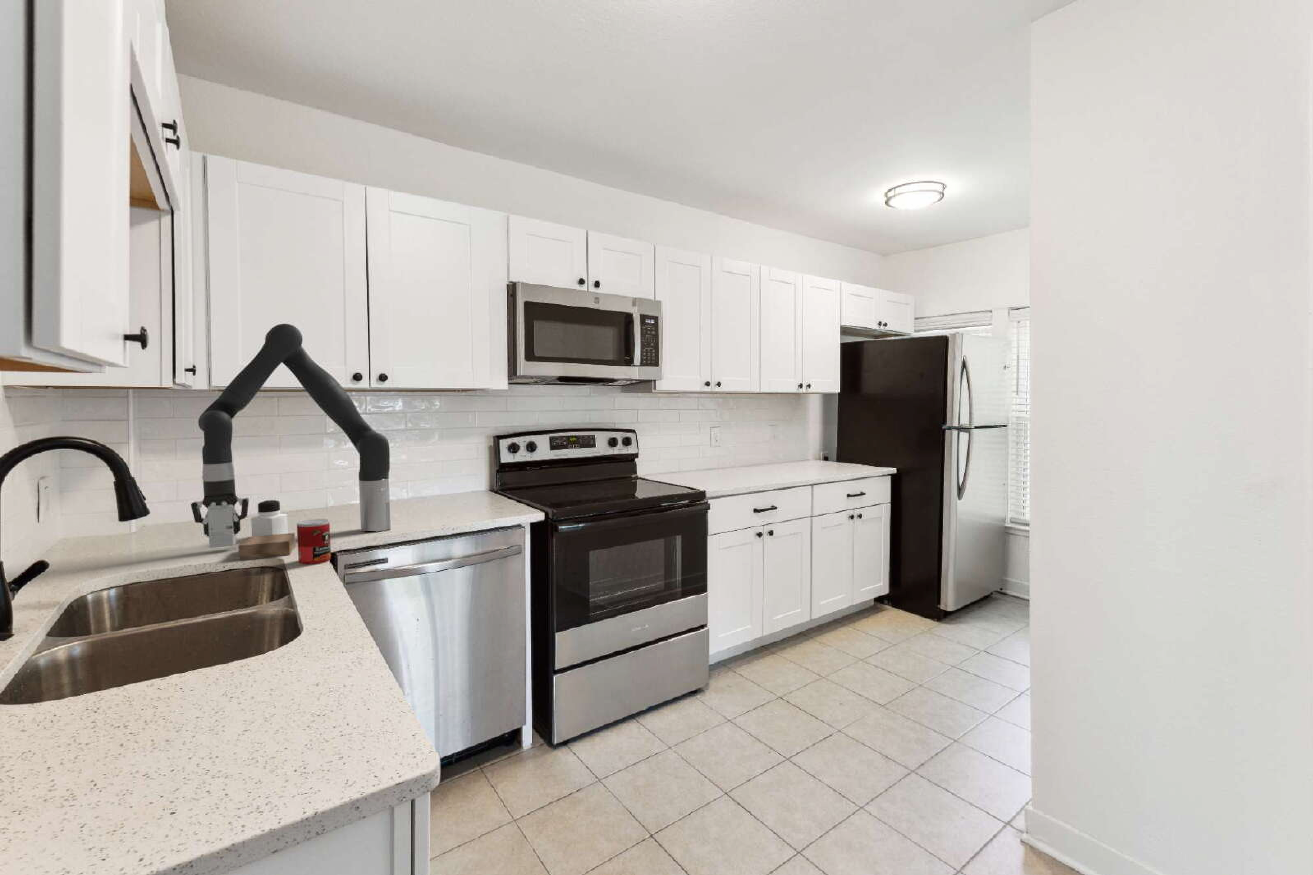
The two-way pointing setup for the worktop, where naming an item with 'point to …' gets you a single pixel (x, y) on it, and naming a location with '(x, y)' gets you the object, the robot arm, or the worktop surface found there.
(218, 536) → the skincare box
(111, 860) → the worktop surface
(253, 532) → the medicine bottle
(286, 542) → the walnut base
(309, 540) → the canned food
